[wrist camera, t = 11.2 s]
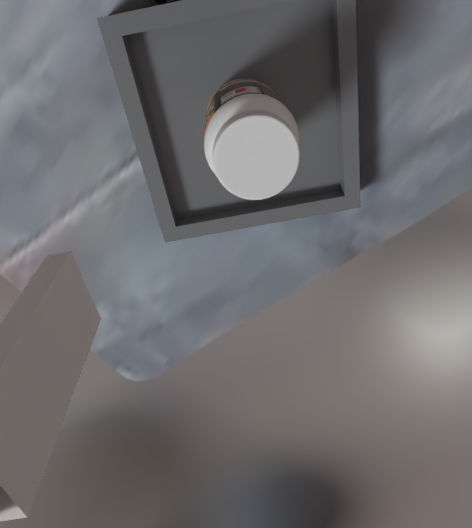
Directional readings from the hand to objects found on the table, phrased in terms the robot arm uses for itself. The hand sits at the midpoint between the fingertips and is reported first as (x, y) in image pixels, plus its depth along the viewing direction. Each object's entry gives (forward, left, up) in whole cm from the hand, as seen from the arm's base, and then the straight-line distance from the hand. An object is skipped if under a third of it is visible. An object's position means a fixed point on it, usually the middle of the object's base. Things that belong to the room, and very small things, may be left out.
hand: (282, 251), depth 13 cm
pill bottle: (0, 0, -20) cm, 20 cm away
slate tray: (0, 0, -21) cm, 21 cm away
